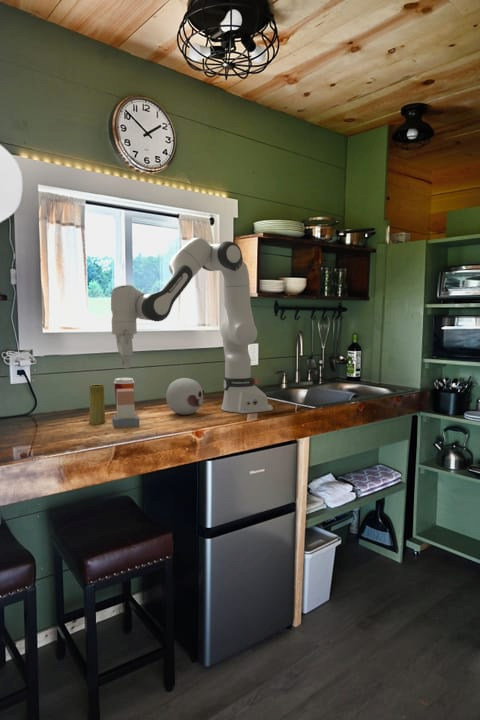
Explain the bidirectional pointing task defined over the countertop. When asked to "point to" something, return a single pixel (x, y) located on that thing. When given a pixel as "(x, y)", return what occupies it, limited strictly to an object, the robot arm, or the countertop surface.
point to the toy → (184, 396)
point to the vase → (97, 404)
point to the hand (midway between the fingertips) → (125, 366)
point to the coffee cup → (123, 385)
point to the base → (125, 421)
